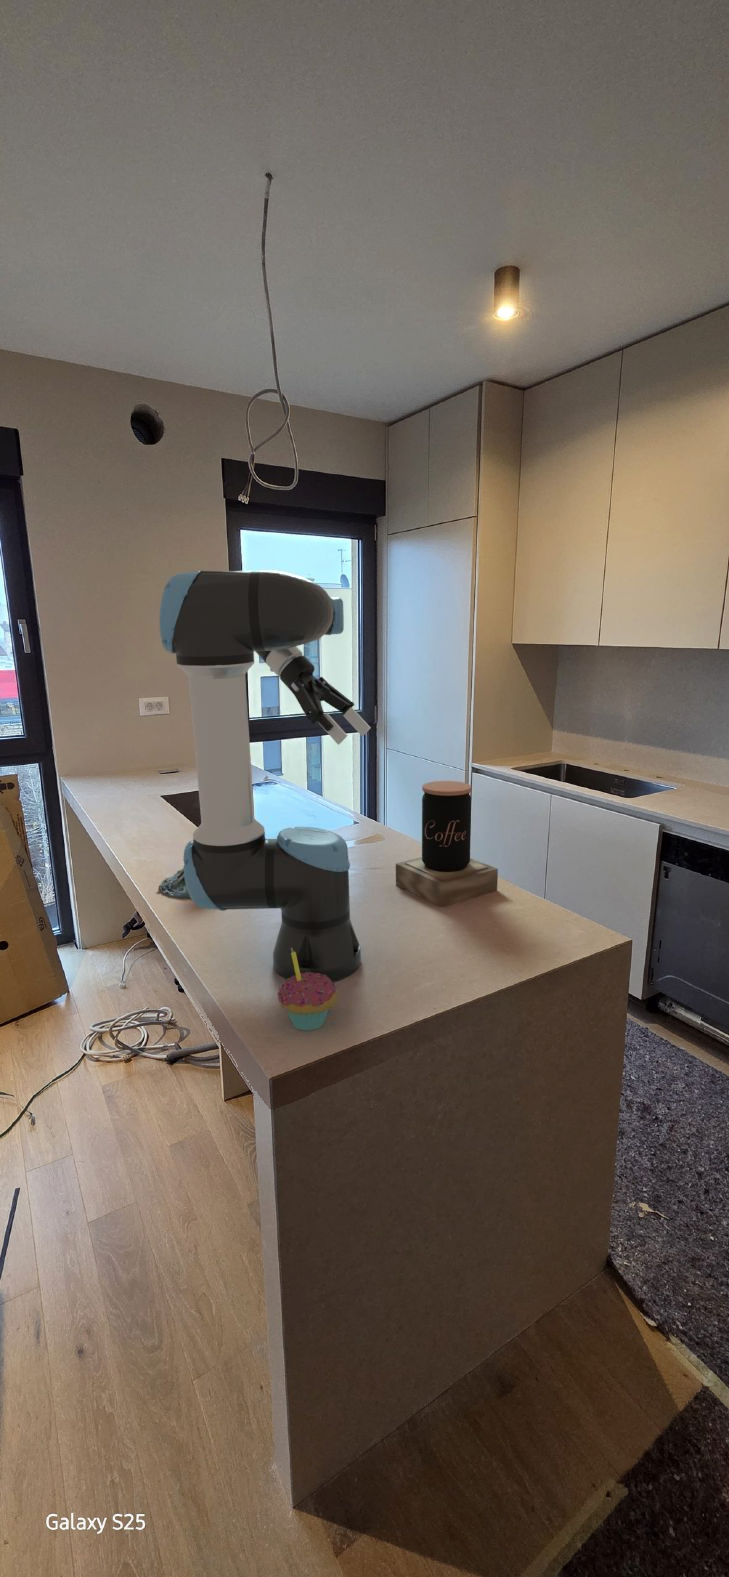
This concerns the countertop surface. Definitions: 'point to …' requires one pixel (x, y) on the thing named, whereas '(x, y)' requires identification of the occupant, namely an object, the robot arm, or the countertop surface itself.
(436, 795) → the coffee jar
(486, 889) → the wooden tray
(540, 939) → the countertop surface
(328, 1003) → the cupcake
